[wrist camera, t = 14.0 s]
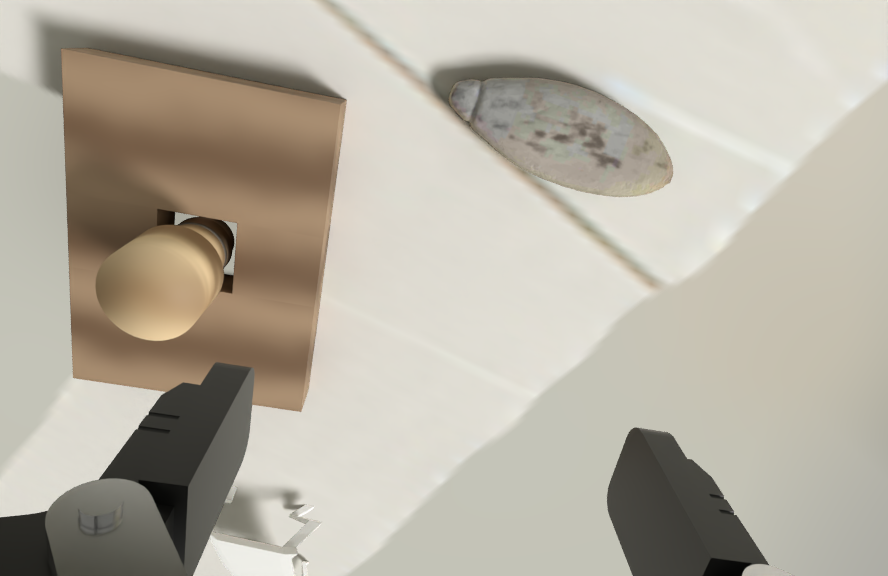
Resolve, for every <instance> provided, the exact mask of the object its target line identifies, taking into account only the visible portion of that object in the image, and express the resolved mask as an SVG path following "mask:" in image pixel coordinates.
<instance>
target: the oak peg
mask: <svg viewBox="0 0 888 576" xmlns="http://www.w3.org/2000/svg"><path fill="white" fill-rule="evenodd" d="M233 247H234V236H233V233H232V231H231V229H230V228H229V226H228V225H227V224H226V223H225V222H223V221H222V220H218V219H212V218H207V217H201V216H199V217H193V218H189V219H186V220H184V221H183V222H181V223H180V224H178V225H160V226H156V227H153V228H151V229H148V230H147V231H145V232H144V233H142V234H141V235H139V236H138V237H136V238H135V239H133V240H132V241H130V242H129V243H127V244H126V245H124V246H123V247H122V248H120V249H119V250H117V251H116V252H114V253H113V254H111V255H110V256H109V257H108V258H107V259H106V260H105V261H104V262H103V263H102V265H101V266H100V268H99V270H98V273H97V277H96V284H95V288H96V295H97V299H98V301H99V304H100V306H101V308H102V310H103V311H104V313H105V314H106V316H107V317H108V318H109V319H110V320H111V321H112V322H113V323H114V324H115V325H116V326H117V327H119V328H120V329H121V330H123V331H125V332H126V333H128V334H130V335H132V336H135V337H138V338H141V339H145V340H152V341H163V340H169V339H173V338H176V337H178V336H180V335H182V334H184V333H185V332H186V331H188V330H189V329H190V328H191V327H192V326H193V325H194V323H195V322H196V321H197V320H198V319H199V317H200V316H201V315H202V314H203V312H204V311H205V310H206V309H207V308H208V306H209V305H210V304H211V303H212V301H213V300H214V299H215V298H216V296H217V295H218V294H219V292H220V290H221V288H222V284H223V279H224V270H223V269H224V267H225V266H226V265H227V264H228V262H229V261H230V259H231V256H232V250H233Z"/></svg>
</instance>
